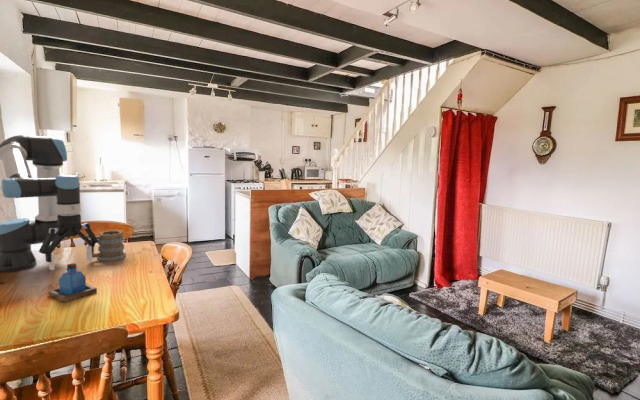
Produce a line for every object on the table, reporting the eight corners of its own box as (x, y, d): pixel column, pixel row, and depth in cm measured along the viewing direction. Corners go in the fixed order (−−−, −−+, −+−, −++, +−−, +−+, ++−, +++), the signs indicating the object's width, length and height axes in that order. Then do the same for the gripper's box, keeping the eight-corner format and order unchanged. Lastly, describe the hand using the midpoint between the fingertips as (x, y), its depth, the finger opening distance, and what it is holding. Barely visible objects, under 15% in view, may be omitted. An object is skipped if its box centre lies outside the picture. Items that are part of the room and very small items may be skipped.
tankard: (118, 252, 193) (118, 227, 191) (129, 257, 186) (128, 231, 184) (78, 260, 177) (77, 232, 175) (88, 265, 170) (87, 237, 168)
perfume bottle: (71, 296, 133) (70, 268, 132) (59, 294, 135) (58, 266, 133) (86, 290, 139) (84, 263, 138) (74, 288, 141) (72, 261, 139)
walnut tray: (48, 295, 135) (48, 290, 134) (81, 285, 145) (81, 281, 145) (64, 302, 129) (63, 298, 129) (96, 292, 140) (96, 287, 139)
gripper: (35, 220, 120) (39, 275, 123) (106, 211, 142) (108, 258, 145) (25, 216, 123) (29, 271, 127) (96, 208, 145) (98, 255, 149)
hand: (71, 264), depth 136 cm, fingers open, 13 cm apart
